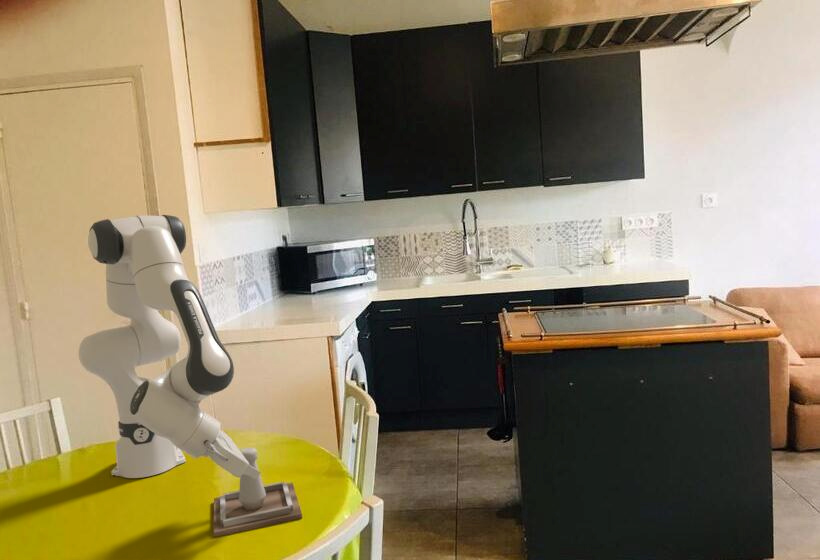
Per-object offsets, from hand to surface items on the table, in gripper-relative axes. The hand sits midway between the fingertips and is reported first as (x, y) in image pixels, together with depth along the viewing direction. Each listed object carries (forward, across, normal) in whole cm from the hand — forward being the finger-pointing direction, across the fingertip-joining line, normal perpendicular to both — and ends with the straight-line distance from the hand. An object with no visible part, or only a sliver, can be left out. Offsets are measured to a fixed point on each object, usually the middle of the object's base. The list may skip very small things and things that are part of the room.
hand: (252, 468), depth 148 cm
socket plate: (+6, 0, +7) cm, 9 cm away
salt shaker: (+6, 0, +7) cm, 9 cm away
